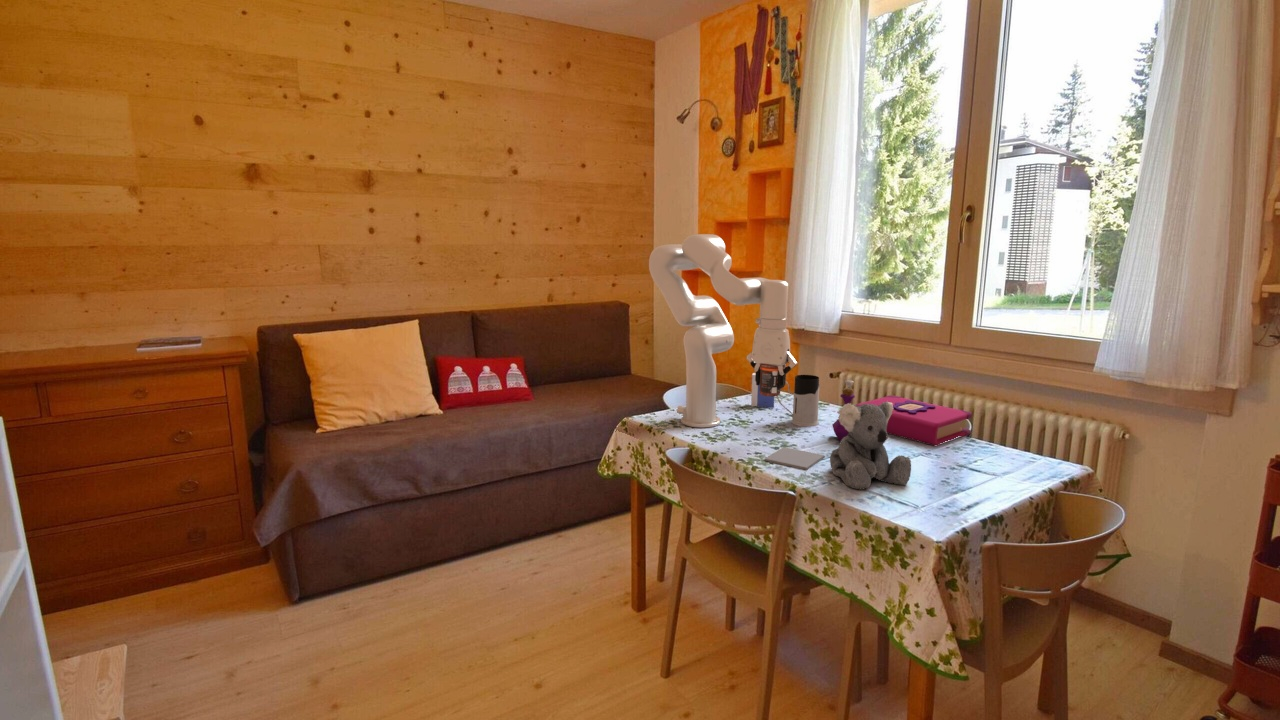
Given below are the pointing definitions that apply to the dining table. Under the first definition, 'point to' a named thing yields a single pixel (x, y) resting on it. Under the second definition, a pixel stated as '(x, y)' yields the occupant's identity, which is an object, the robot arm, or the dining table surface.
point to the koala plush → (867, 448)
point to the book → (923, 420)
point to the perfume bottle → (847, 398)
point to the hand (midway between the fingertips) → (770, 385)
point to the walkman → (760, 396)
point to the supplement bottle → (769, 380)
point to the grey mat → (795, 458)
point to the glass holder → (805, 400)
